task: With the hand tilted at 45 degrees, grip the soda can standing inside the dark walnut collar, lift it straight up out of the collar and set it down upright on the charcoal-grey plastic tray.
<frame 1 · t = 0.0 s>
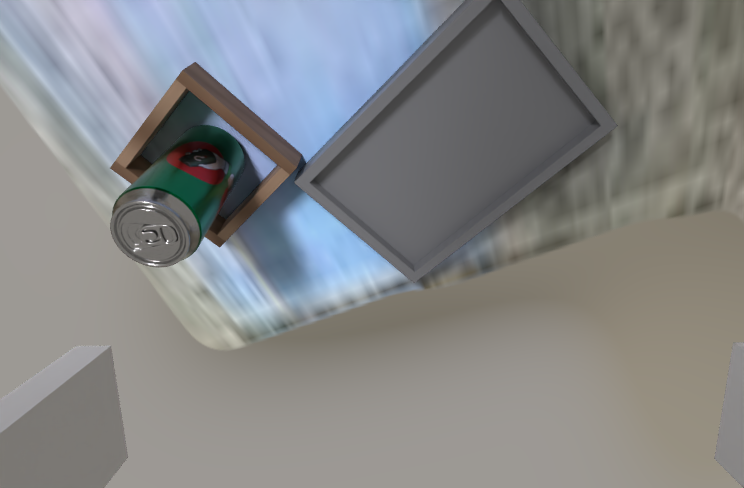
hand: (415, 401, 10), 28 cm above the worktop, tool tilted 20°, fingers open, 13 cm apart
grey tray: (446, 145, 36), on the worktop
walnut collar: (213, 154, 37), on the worktop
soda can: (214, 153, 37), resting in walnut collar
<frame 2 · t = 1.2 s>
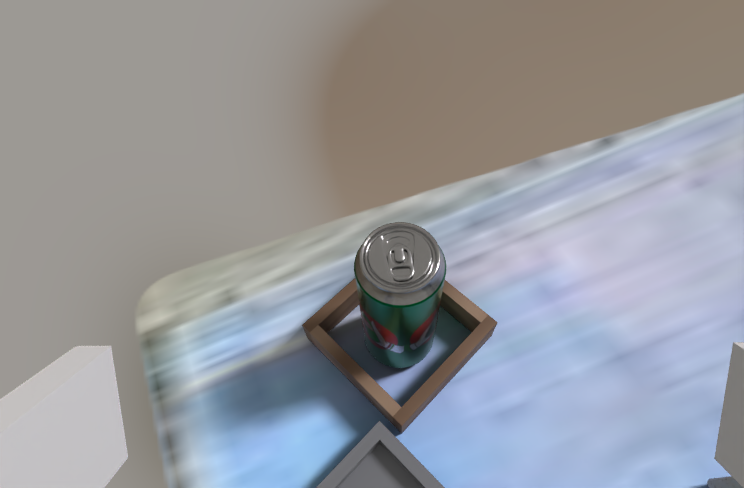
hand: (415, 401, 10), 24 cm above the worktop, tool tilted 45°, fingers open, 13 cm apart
walnut collar: (398, 336, 36), on the worktop
soda can: (398, 337, 36), resting in walnut collar
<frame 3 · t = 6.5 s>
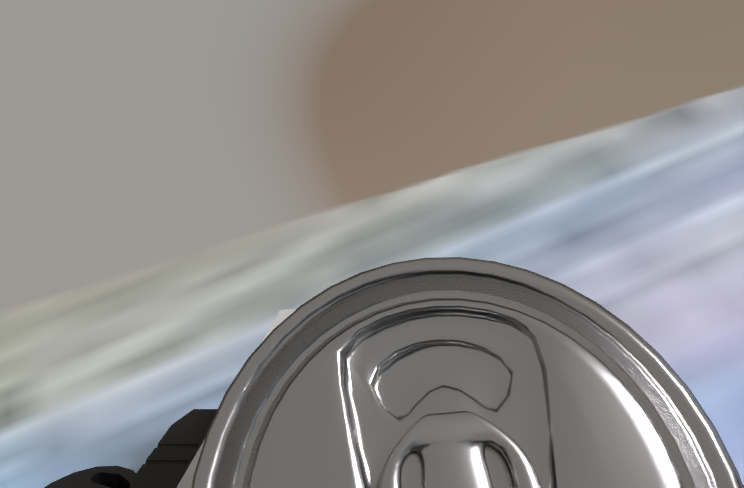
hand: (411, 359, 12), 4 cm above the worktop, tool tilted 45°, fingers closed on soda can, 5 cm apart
when the fingers open (6 cm above the worktop, at t = 11.8 s): soda can drops 1 cm, resting on grey tray.
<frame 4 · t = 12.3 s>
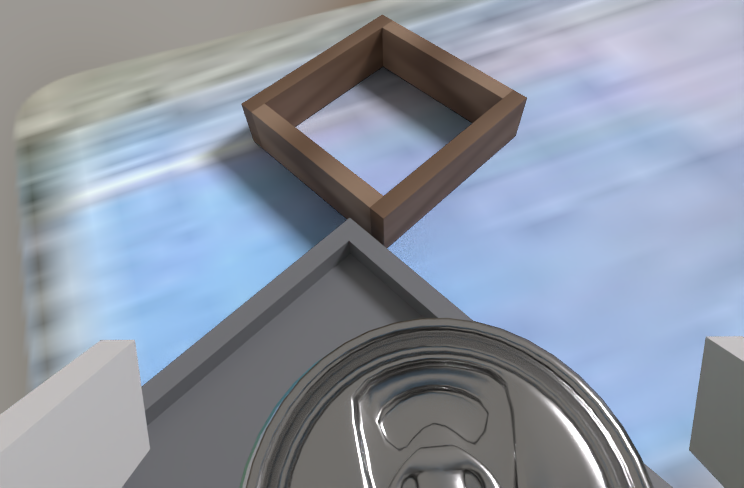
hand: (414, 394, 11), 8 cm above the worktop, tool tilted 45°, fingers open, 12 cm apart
walnut collar: (383, 138, 25), on the worktop
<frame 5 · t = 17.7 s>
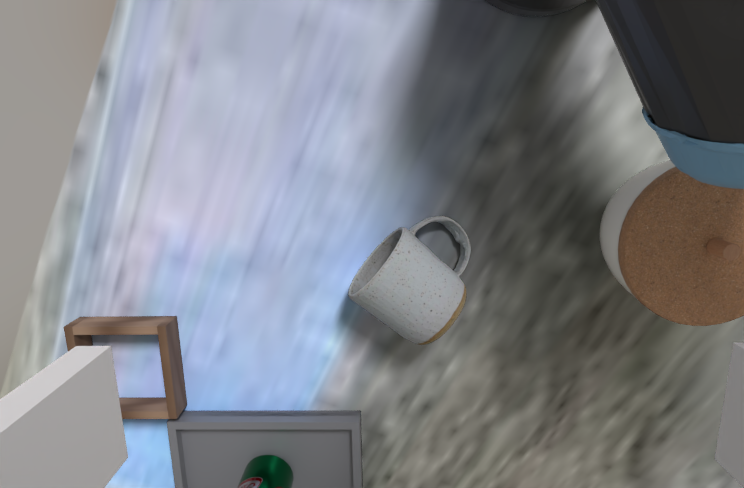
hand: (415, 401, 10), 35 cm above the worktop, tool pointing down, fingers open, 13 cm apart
grey tray: (271, 466, 51), on the worktop
ceramic mug: (414, 262, 46), on the worktop
walnut collar: (134, 361, 49), on the worktop
lidded bowl: (646, 221, 44), on the worktop
soda can: (270, 471, 50), point 1 cm above the worktop, touching grey tray
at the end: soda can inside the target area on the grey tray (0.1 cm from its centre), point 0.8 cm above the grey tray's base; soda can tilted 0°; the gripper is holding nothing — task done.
